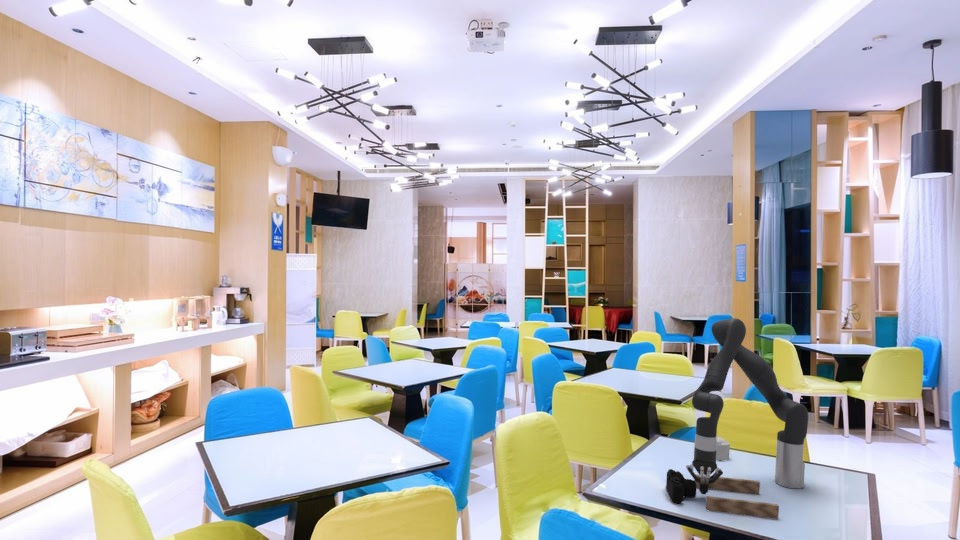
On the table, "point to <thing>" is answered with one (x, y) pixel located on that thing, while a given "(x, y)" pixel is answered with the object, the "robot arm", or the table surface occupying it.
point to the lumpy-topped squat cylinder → (722, 449)
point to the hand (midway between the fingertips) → (703, 493)
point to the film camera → (679, 486)
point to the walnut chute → (739, 505)
